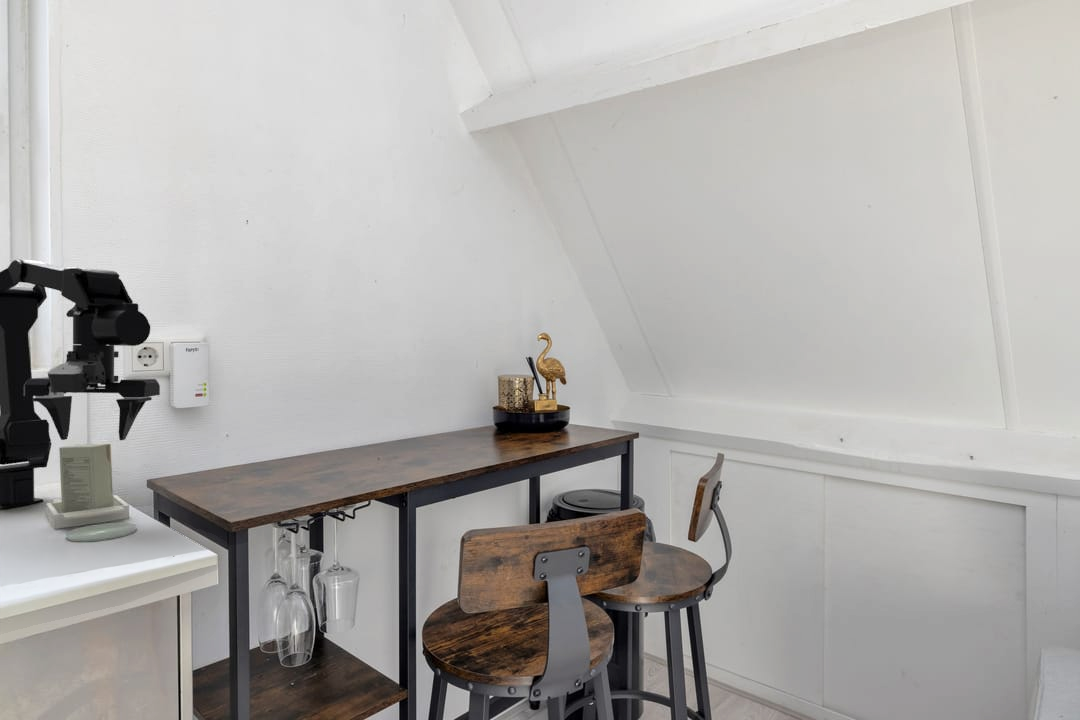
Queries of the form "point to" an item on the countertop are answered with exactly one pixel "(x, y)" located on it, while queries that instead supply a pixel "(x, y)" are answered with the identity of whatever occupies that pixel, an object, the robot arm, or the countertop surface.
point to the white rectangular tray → (85, 514)
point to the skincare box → (86, 477)
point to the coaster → (100, 532)
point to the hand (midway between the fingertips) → (93, 439)
